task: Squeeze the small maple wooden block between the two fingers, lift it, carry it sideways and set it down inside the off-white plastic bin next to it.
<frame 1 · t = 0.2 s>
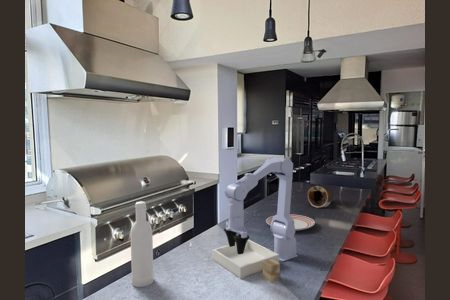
hand: (236, 249, 116), 10 cm above the countertop, tool pointing down, fingers open, 7 cm apart
clay pot: (322, 204, 219), on the countertop
bottle: (142, 282, 111), on the countertop
dinner plate: (290, 226, 173), on the countertop
bin: (245, 262, 127), on the countertop
maple block: (271, 278, 114), on the countertop
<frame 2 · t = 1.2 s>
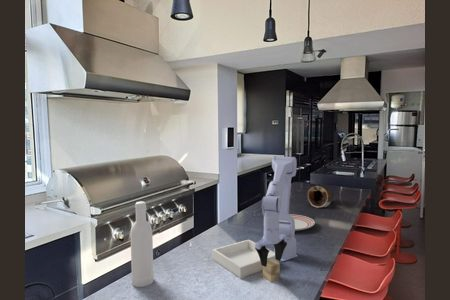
hand: (271, 262, 113), 6 cm above the countertop, tool pointing down, fingers open, 7 cm apart
nothing on the countertop moved.
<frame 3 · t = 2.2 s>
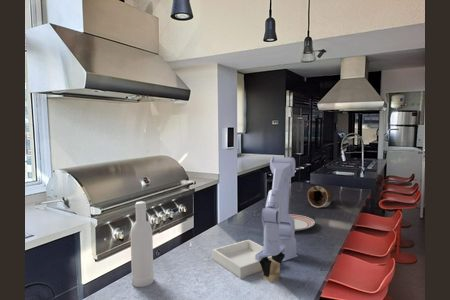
hand: (271, 273, 114), 2 cm above the countertop, tool pointing down, fingers closed on maple block, 5 cm apart
maple block: (271, 277, 114), on the countertop, touching gripper
everything else where it was.
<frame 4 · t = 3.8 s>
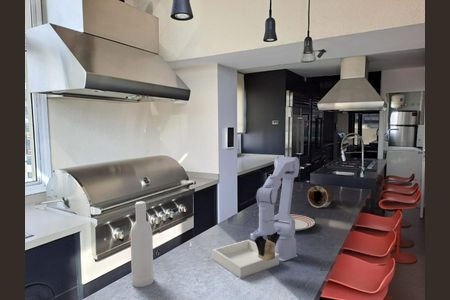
hand: (266, 253, 115), 9 cm above the countertop, tool pointing down, fingers closed on maple block, 4 cm apart
maple block: (266, 257, 115), point 7 cm above the countertop, touching gripper
everything else where it was.
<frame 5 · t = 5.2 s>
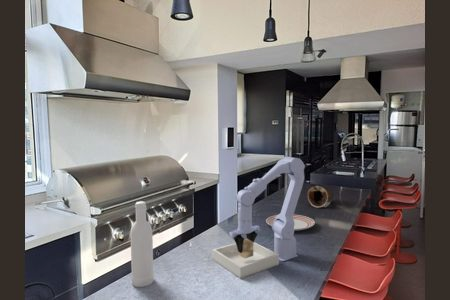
hand: (244, 250, 127), 5 cm above the countertop, tool pointing down, fingers closed on maple block, 4 cm apart
maple block: (245, 255, 126), point 3 cm above the countertop, touching gripper
everything else where it was.
when the fingers open (4 cm above the countertop, at t = 5.8 s): maple block drops 2 cm, resting on bin.
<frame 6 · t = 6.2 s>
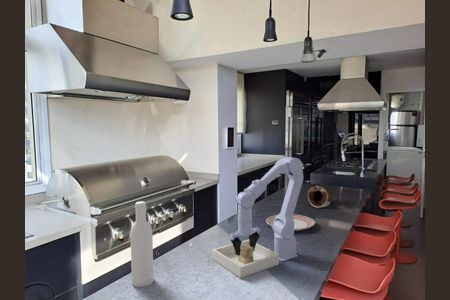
hand: (245, 252, 127), 4 cm above the countertop, tool pointing down, fingers open, 7 cm apart
maple block: (245, 261, 127), point 1 cm above the countertop, touching bin
everything else where it was.
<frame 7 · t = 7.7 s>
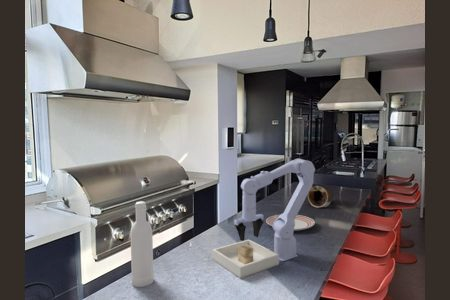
hand: (249, 238, 129), 9 cm above the countertop, tool pointing down, fingers open, 7 cm apart
nothing on the countertop moved.
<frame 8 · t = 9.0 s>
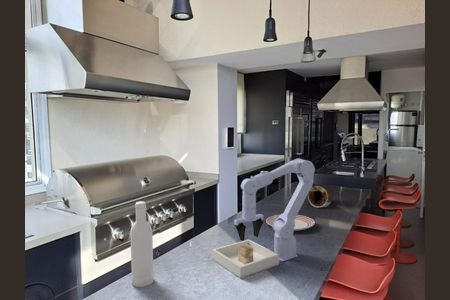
hand: (249, 238, 129), 9 cm above the countertop, tool pointing down, fingers open, 7 cm apart
nothing on the countertop moved.
at the end: maple block inside the target area on the bin (0.4 cm from its centre), point 0.6 cm above the bin's base; maple block tilted 0°; the gripper is holding nothing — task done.
